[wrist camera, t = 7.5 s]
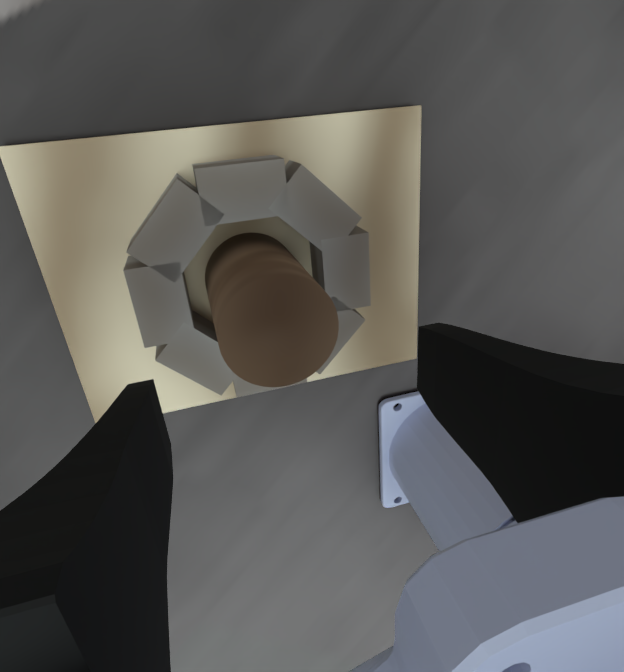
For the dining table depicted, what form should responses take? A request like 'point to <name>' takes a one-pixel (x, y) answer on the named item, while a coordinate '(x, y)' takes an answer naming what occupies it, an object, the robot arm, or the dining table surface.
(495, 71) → the dining table surface
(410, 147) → the socket board
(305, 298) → the walnut peg
